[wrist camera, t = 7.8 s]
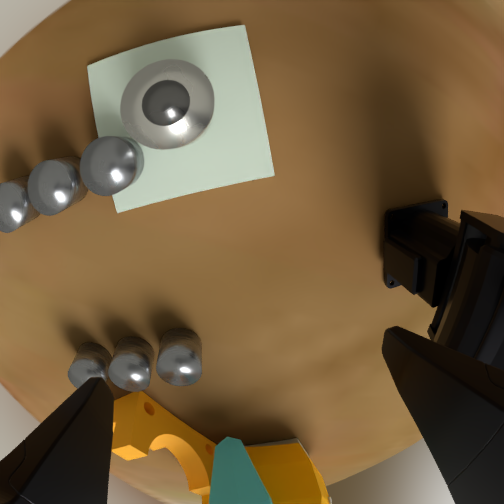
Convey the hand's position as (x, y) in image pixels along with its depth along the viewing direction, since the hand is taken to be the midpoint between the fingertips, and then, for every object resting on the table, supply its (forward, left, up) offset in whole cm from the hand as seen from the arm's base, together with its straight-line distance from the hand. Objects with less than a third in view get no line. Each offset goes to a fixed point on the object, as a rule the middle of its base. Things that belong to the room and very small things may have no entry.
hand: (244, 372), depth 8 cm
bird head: (+2, +31, -12) cm, 34 cm away
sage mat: (+1, -9, -12) cm, 15 cm away
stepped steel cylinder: (+1, -9, -11) cm, 14 cm away
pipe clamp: (+11, +18, -12) cm, 24 cm away
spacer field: (+9, 0, -12) cm, 15 cm away
